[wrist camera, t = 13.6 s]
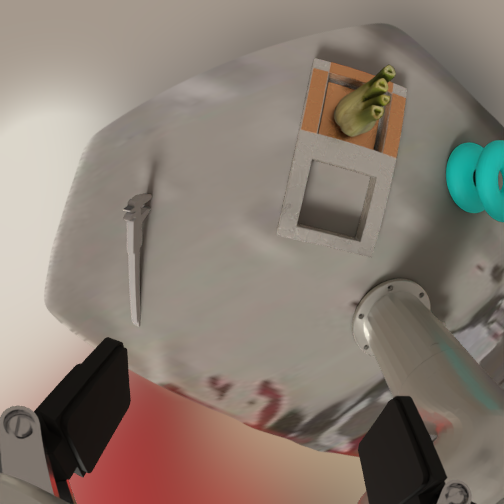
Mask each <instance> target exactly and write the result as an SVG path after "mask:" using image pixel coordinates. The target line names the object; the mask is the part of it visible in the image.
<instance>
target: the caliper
mask: <svg viewBox="0 0 504 504" xmlns="http://www.w3.org/2000/svg"><path fill="white" fill-rule="evenodd" d="M151 198H152V195H150V194H139V195H135V196H134V197H133V198H132V199H130V200H129V201H128V206H127V207H125V208H124V209H123V211H127V213H126V214H125V216H124V217H123V220H126V221H127V252H128V256H129V289H130V306H131V319H132V322H133V324H134V325H136V326H139V327H140V313H141V307H140V247H141V246H142V236H143V233H142V229H141V226H142V222H143V221H144V219H145V218H146V217H147V215H148V214H149V212H150V209H151V207H146V206H144V207H142V208H141V206H143V205H144V204H145V203H146V202H148V201H149V200H150V199H151Z"/></svg>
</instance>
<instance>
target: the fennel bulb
mask: <svg viewBox="0 0 504 504" xmlns="http://www.w3.org/2000/svg"><path fill="white" fill-rule="evenodd" d="M395 75H396V72H395V70H394V68H393V67H392V66H391V65H387V66H386V67H384V68H383V69H382V70H381V71H380V72H379V73H378V74H377V75H376V76H375V77H373V78H372V79H371V80H370V81H368V82H367V83H365V84H363V85H362V86H361V87H359V88H358V89H356V90H355V91H353V92H351V93H349V94H348V95H346V96H344V97H343V98H342V99H341V100H340V101H339V103H338V105H337V106H336V108H335V110H334V119H335V122H336V123H337V124H338V125H339V126H340V128H341V130H342V131H343V132H344V133H345V134H346V135H348V136H350V137H354V136H357V135H360V134H363V133H366V132H368V131H370V130H371V129H372V128H373V126H374V125H375V123H376V121H377V120H378V119H380V118H381V117H382V116H383V114H384V108H383V107H381V106H384V105H387V104H389V103H390V100H391V98H390V96H387V95H384V94H385V93H386V92H387V90H388V88H389V87H388V84H387V83H388V82H389V81H390V80H391V79H393V78H394V76H395Z"/></svg>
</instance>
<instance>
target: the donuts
mask: <svg viewBox="0 0 504 504" xmlns="http://www.w3.org/2000/svg"><path fill="white" fill-rule="evenodd" d="M475 169H476V187H475V185H474V182H473V173H474V170H475ZM499 171H500V172H501V174H502V177H503V186H502V189H501V190H499V186H498V174H499ZM446 181H447V186H448V190H449V192H450V195H451V197H452V199H453V200H454V202H455V203H456V204H457V205H458V206H459V207H460V208H461V209H463V210H464V211H466V212H469V213H479V212H482V211H484V210H485V211H486V212H487V213H488V214H489V215H490V216H491V217H492V218H493V219H495V220H497V221H500V222H504V141H503V140H496V141H493V142H490V143H489V144H487V145H486V146H485V147H484V148H483V147H481V146H480V145H478V144H475V143H471V142H468V143H463V144H460V145H459V146H457V147H456V148H455V149H454V150H453V152H452V153H451V155H450V157H449V159H448V162H447V167H446Z"/></svg>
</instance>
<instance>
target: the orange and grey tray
mask: <svg viewBox="0 0 504 504" xmlns="http://www.w3.org/2000/svg"><path fill="white" fill-rule="evenodd" d="M373 77H375V76H374V75H371V74H368V73H366V72H363V71H360V70H356V69H353V68H350V67H347V66H343V65H340V64H337V63H333V62H328V61H324V60H320V59H316V58H314V61H313V64H312V68H311V73H310V78H309V83H308V88H307V93H306V98H305V103H304V108H303V113H302V117H301V122H300V127H299V132H298V136H297V141H296V146H295V150H294V155H293V160H292V164H291V169H290V173H289V178H288V182H287V187H286V191H285V196H284V200H283V205H282V209H281V214H280V218H279V222H278V227H277V235H278V236H283V237H287V238H291V239H296V240H300V241H305V242H309V243H313V244H317V245H322V246H326V247H330V248H334V249H339V250H343V251H347V252H351V253H355V254H359V255H363V256H368V257H372V254H373V251H374V248H375V244H376V241H377V237H378V234H379V230H380V227H381V223H382V219H383V215H384V212H385V208H386V204H387V200H388V195H389V191H390V187H391V182H392V178H393V173H394V168H395V164H396V158H397V153H398V148H399V142H400V136H401V130H402V124H403V117H404V110H405V102H406V94H407V88H404V87H402V86H399V85H397V84H395V83H393V82H390V81H389V82H388V83H387V84H388V87H389V88H388V90H387V92H386V93H385V94H384V95H387V96H390V98H391V100H390V103H389V104H387V105H384V106H383V108H384V114H383V116H382V119H381V125H380V131H379V136H378V142H377V147H376V151H375V150H374V144H375V139H376V134H377V128H378V122H379V119H378V120H377V121H376V123H375V125H374V126H373V128H372V129H371V130H370V131H368V132H366V133H363V134H360V135H357V136H354V137H350V136H348V135H346V134H345V133H344V132H343V131H342V130H341V128H340V126H339V125H338V124H337V123H336V122H335V119H334V110H335V108H336V106H337V105H338V103H339V101H340V100H341V99H342V98H343V97H344V96H346V95H348V94H349V93H351V92H353V91H355V90H354V89H351V88H348V87H345V86H341V85H338V84H334V83H331V82H328V80H332V81H335V82H339V83H342V84H346V85H349V86H352V87H355V88H359V87H361V86H362V85H363V84H365V83H367V82H368V81H370V80H371V79H372V78H373ZM327 82H328V87H327ZM326 87H327V93H326V98H325V92H326ZM324 98H325V103H324ZM323 103H324V108H323ZM322 108H323V113H322ZM321 113H322V118H321ZM320 118H321V123H320ZM319 123H320V128H319ZM318 128H319V133H318ZM317 133H318V134H317ZM312 160H313V161H317V162H321V163H324V164H328V165H332V166H336V167H339V168H343V169H346V170H350V171H353V172H356V173H360V174H363V175H366V176H370V181H369V185H368V189H367V194H366V198H365V202H364V206H363V210H362V214H361V218H360V221H359V225H358V229H357V233H356V236H355V237H351V236H347V235H343V234H339V233H335V232H331V231H327V230H323V229H319V228H315V227H311V226H306V225H302V224H298V223H297V222H298V218H299V214H300V209H301V205H302V201H303V197H304V192H305V188H306V183H307V179H308V175H309V170H310V165H311V161H312Z"/></svg>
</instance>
